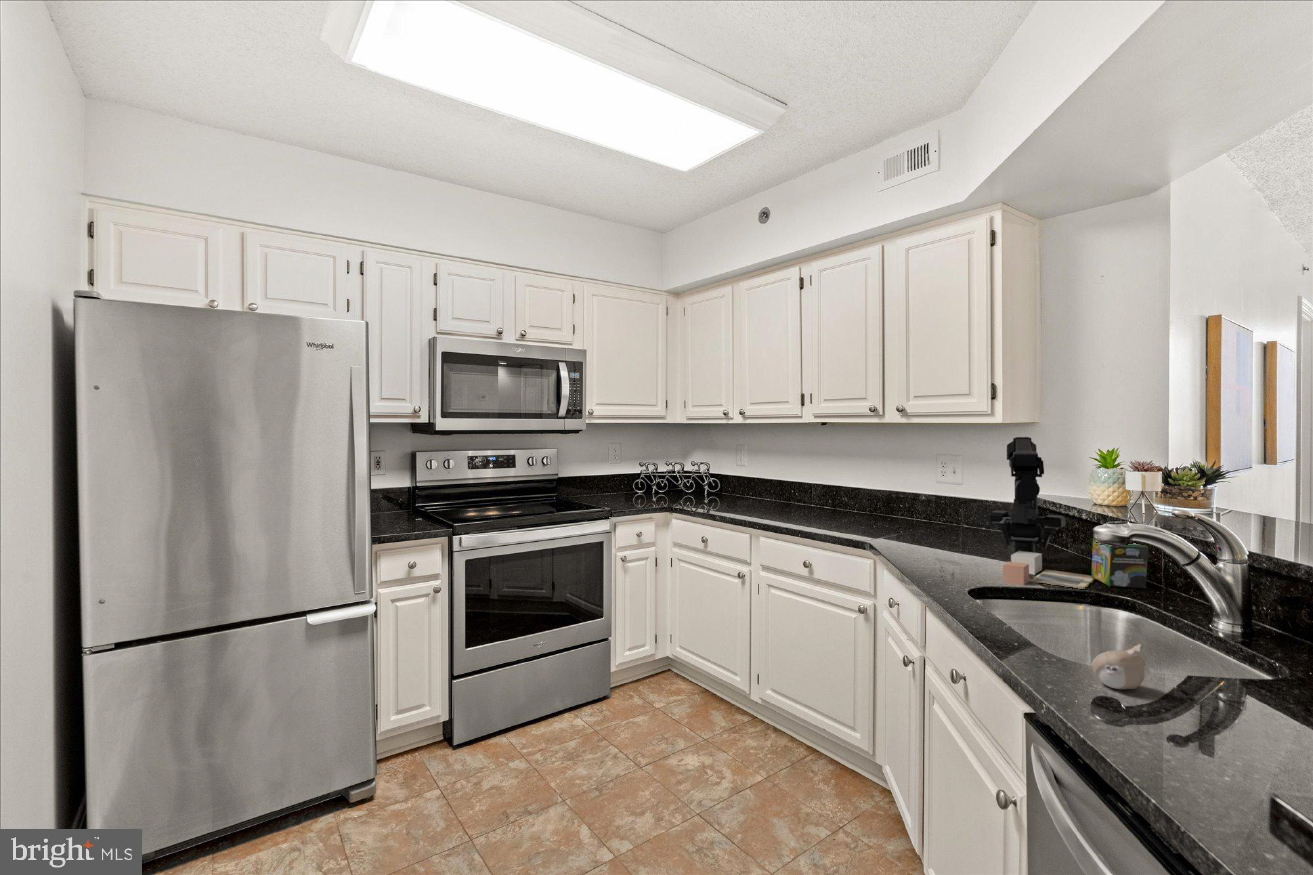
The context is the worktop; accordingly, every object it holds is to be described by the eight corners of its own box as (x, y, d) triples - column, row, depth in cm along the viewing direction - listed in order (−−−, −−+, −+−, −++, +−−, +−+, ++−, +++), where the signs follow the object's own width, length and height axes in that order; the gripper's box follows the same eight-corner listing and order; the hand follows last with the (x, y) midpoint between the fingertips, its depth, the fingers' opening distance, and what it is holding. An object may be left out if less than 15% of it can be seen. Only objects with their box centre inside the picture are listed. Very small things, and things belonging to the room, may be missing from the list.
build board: (1046, 571, 175) (1045, 569, 175) (1096, 578, 166) (1095, 575, 166) (1030, 582, 164) (1030, 579, 164) (1083, 590, 155) (1083, 587, 155)
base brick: (1019, 567, 182) (1019, 550, 182) (1041, 570, 177) (1041, 553, 177) (1011, 571, 176) (1011, 555, 176) (1034, 575, 172) (1034, 557, 172)
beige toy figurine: (1122, 698, 95) (1122, 648, 95) (1084, 682, 101) (1083, 635, 101) (1153, 692, 97) (1152, 643, 97) (1113, 676, 103) (1113, 631, 103)
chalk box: (1126, 579, 164) (1129, 525, 163) (1147, 589, 155) (1151, 532, 154) (1089, 576, 166) (1092, 524, 165) (1108, 586, 157) (1111, 531, 156)
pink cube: (1008, 578, 168) (1008, 561, 168) (1029, 581, 164) (1028, 563, 164) (1003, 582, 165) (1003, 564, 165) (1023, 585, 161) (1023, 567, 161)
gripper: (982, 495, 178) (982, 547, 178) (1056, 500, 164) (1056, 556, 164) (994, 492, 185) (995, 542, 186) (1065, 496, 172) (1066, 550, 172)
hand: (1026, 547), depth 177 cm, fingers open, 9 cm apart
